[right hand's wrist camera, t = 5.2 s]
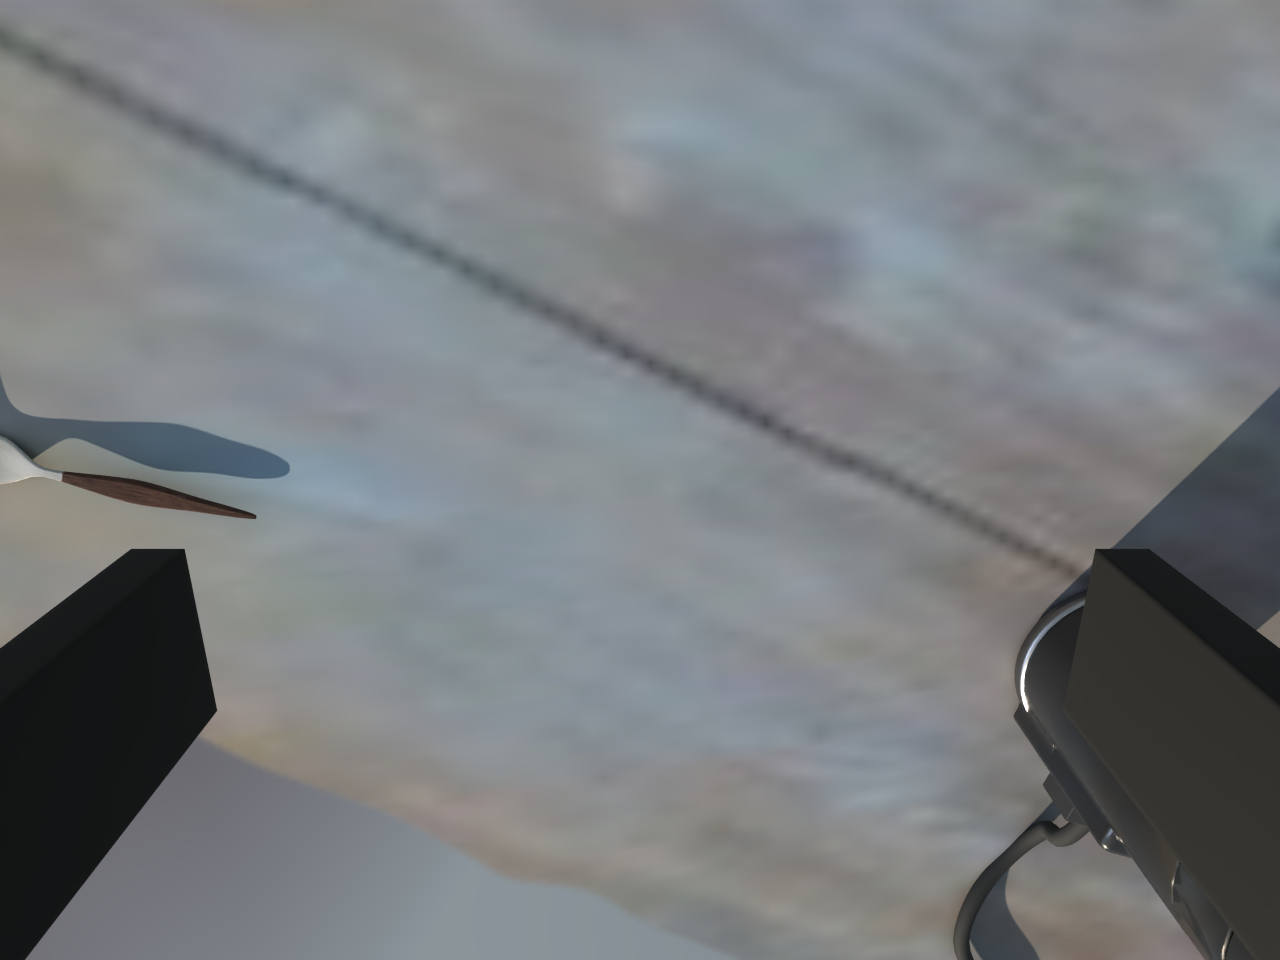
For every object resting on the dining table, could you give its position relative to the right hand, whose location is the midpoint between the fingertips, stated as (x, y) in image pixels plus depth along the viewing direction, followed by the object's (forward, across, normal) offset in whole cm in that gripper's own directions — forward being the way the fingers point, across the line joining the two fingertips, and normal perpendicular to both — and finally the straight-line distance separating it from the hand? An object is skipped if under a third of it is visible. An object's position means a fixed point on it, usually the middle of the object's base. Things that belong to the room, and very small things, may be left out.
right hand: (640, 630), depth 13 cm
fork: (+28, -26, -8) cm, 39 cm away
